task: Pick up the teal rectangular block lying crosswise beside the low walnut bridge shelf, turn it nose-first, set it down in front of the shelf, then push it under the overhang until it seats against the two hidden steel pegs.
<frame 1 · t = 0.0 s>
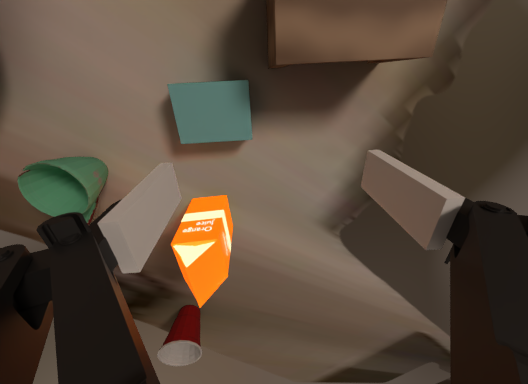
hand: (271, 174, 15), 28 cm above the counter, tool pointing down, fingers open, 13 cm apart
mug: (97, 179, 44), on the counter
shelf: (327, 21, 34), on the counter
plastic cup: (191, 310, 65), on the counter
teal rectangular block: (216, 109, 39), on the counter
orange juice: (213, 212, 49), on the counter
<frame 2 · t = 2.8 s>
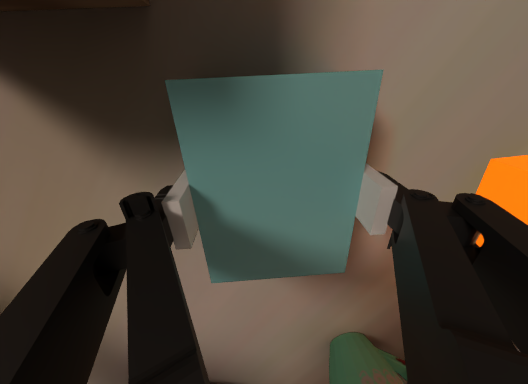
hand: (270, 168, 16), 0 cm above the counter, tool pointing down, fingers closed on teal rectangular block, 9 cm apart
mug: (364, 342, 29), on the counter
teal rectangular block: (269, 167, 16), on the counter, touching gripper
orange juice: (519, 193, 19), on the counter
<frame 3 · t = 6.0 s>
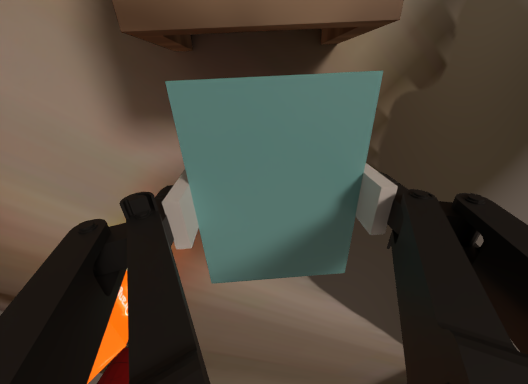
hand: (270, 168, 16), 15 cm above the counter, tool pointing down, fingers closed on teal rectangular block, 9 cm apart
plastic cup: (132, 352, 54), on the counter
teal rectangular block: (269, 167, 16), point 15 cm above the counter, touching gripper
orange juice: (136, 244, 38), on the counter
when the fingers open (1 cm above the counter, at t = 9.1 s): teal rectangular block stays where it is, on the counter.
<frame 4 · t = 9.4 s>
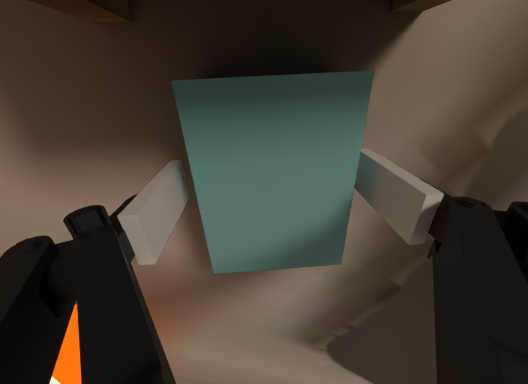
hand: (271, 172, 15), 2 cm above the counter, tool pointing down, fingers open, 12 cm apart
teal rectangular block: (269, 163, 17), on the counter
orange juice: (78, 328, 25), on the counter
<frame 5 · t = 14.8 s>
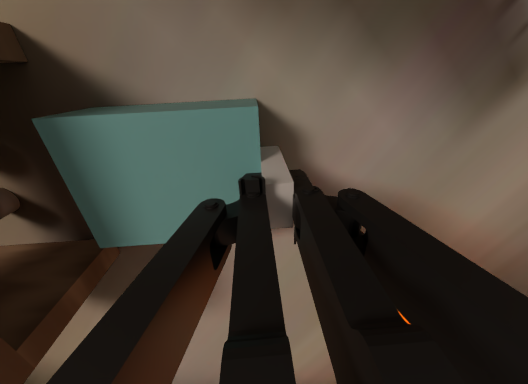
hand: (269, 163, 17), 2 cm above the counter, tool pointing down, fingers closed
shelf: (3, 172, 18), on the counter
teal rectangular block: (187, 160, 18), on the counter, touching gripper
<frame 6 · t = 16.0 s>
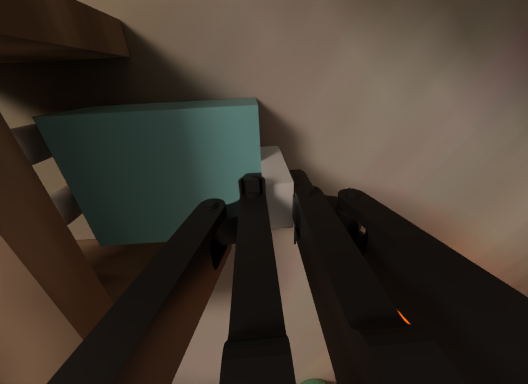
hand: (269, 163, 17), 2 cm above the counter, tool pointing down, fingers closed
shelf: (87, 166, 18), on the counter
teal rectangular block: (187, 159, 18), on the counter, touching gripper
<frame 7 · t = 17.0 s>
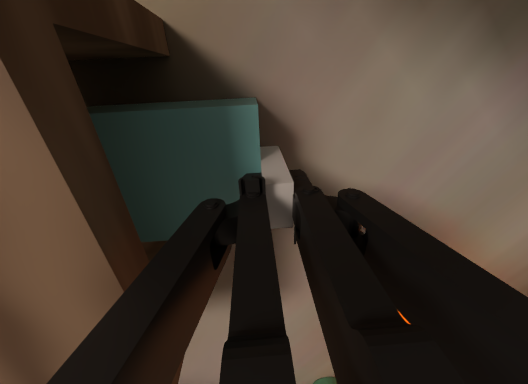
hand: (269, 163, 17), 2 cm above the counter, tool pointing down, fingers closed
mug: (337, 382, 40), on the counter
shelf: (119, 164, 18), on the counter
teal rectangular block: (188, 158, 18), on the counter, touching gripper, shelf
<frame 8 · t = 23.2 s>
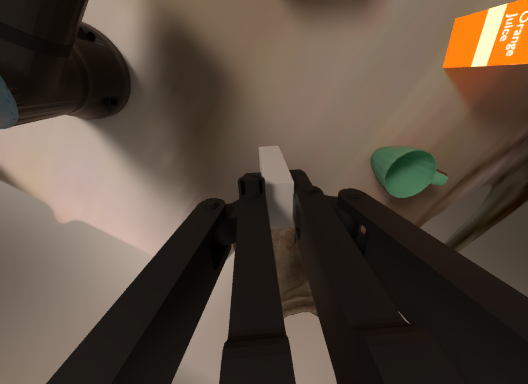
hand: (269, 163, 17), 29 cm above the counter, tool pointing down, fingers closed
mug: (390, 159, 49), on the counter
jug: (278, 204, 53), on the counter
orange juice: (471, 42, 39), on the counter
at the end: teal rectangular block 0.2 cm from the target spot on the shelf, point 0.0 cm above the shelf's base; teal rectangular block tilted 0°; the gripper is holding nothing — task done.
